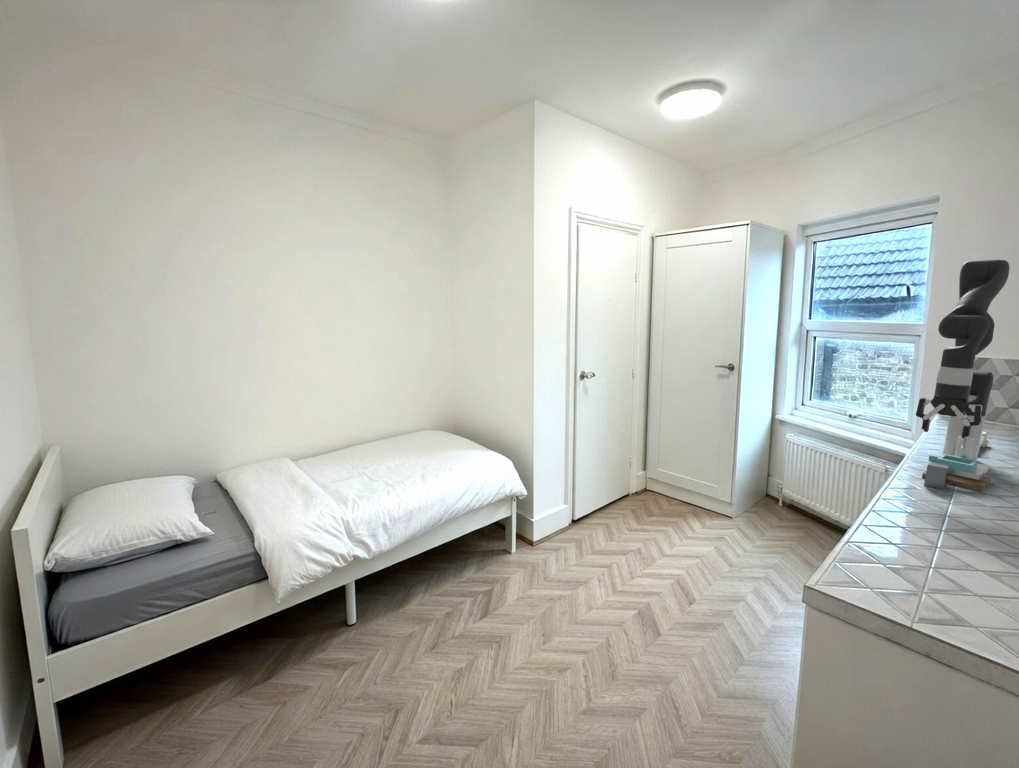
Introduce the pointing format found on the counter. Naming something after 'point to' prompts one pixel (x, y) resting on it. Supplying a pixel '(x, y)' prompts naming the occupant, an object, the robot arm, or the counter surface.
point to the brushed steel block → (937, 476)
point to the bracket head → (955, 462)
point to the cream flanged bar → (984, 440)
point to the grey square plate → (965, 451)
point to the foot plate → (967, 481)
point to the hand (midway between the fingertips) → (944, 434)
